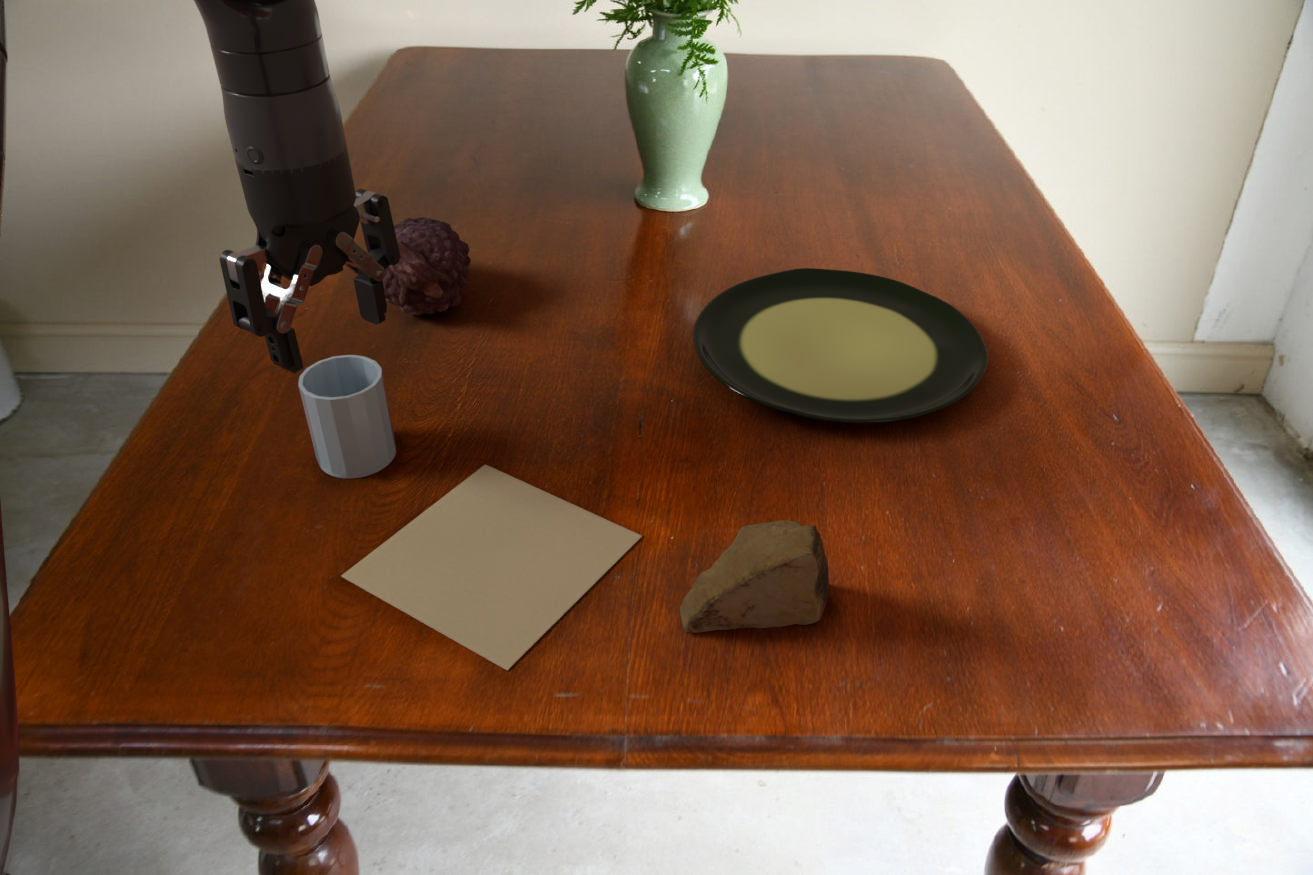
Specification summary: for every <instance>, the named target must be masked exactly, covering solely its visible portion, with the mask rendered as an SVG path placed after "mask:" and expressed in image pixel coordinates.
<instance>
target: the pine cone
mask: <svg viewBox="0 0 1313 875" xmlns="http://www.w3.org/2000/svg"><path fill="white" fill-rule="evenodd" d="M394 229H395V234H396V238H397V243H398V247H399V252H400V260H399V262H398V264H396V265H390V266H389V267H388V268H387V269H386V270H385V276H384V278H383V286H384V292H385V297H386V299H385V300H386V302H388V303H390V304H391V305H396V307H398V308H399V309H400V310H401V312H402V313H405V314H410V315H412V316H422V315H424V314H426V315H427V314H428V315H433V314H435V312H438V313H442V312H445V311H447V310H448V309H449V307H451V308H453V307H457V306H459V305H460V303H461V300H462V298H461V295H462V294H464V293H465V291H466V285H467V282H468V280H469V277H470V270H469V267H470V265H471V262H472V261H471V257H470V256H469V252H470V246H469V244H468V243H466V242H465V241H464V240H461V239H460V238H461V237H460V234H459V233H458V232H457V231H456V230H453V228H452V226H451V224H450V223H447V222H445V221H440V220H439V219H433V218H431V217H430V218H429V217H428V218H426V217H421V216H419V217H415V218H410V217H409V218H405V219H404V220H401V221H400V222H399V223H396V224H394Z"/></svg>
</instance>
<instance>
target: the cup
mask: <svg viewBox="0 0 1313 875" xmlns="http://www.w3.org/2000/svg"><path fill="white" fill-rule="evenodd" d="M298 377H299V378H298V384H297V386H298V390H299V394H300V398H301V402H302V406H303V410H304V414H305V419H306V422H307V426H308V430H309V434H310V438H311V439H310V440H311V442H312V446H313V450H314V455H315V459H316V461H317V463H318V466H319V468H320V469H321V470H322V471H323V472H324V473H325V474H327V475H329V476H331V477H335V478H338V479H347V480H349V479H361V478H365V477H368V476H371V475H375V474H376V473H378V472H381V470H382V471H383V469H385V468H386V467H387V466H389V465H390V464H391V463H392V461H394V458H395V457H396V454H397V445H396V436H395V432H394V425H393V421H392V416H391V409H390V406H389V399H388V394H387V389H386V383H385V378H384V373H383V368H382V367H381V365H380V364H379V363H378V362H377V361H376V360H374V359H372V358H370V357H368V356H364V355H356V354H345V355H344V354H343V355H333V356H331V357H328V358H324V359H321V360H318V361H316V362H314V363H313V364H311V365H310V366H308V367H306V368H305V369H304V371H303V372H302V373H301V374H300V375H299V376H298Z"/></svg>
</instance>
